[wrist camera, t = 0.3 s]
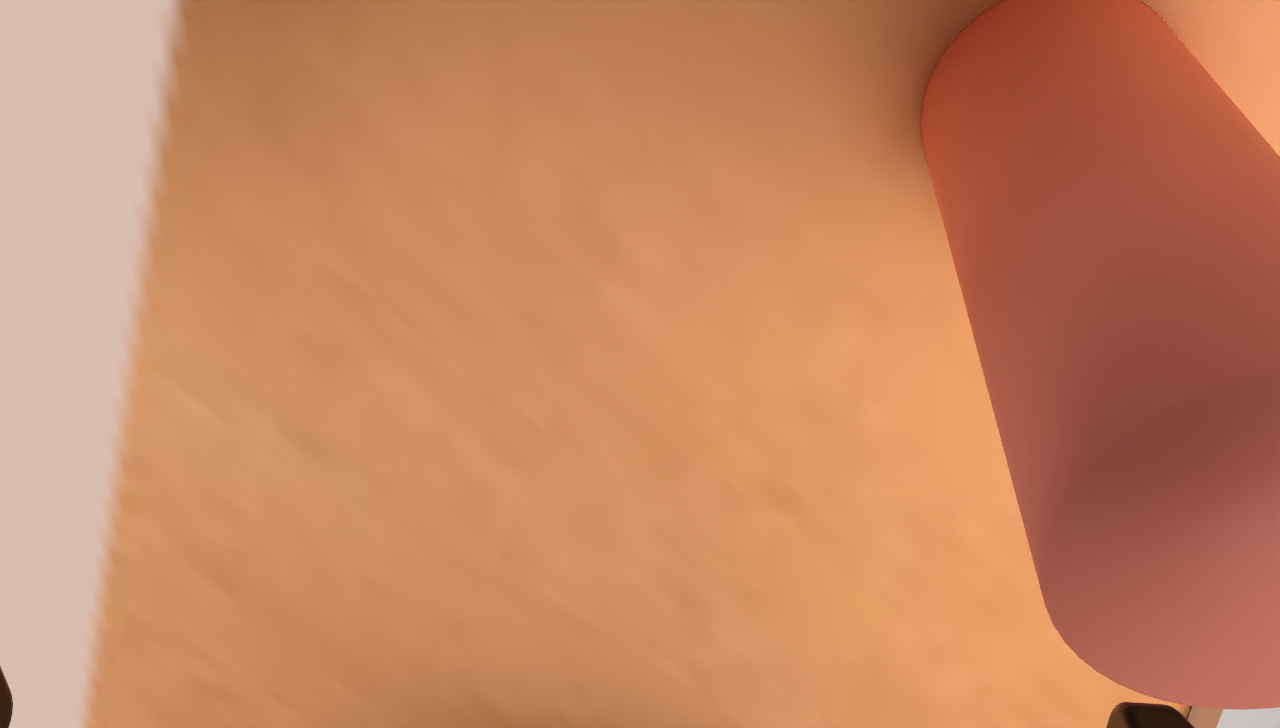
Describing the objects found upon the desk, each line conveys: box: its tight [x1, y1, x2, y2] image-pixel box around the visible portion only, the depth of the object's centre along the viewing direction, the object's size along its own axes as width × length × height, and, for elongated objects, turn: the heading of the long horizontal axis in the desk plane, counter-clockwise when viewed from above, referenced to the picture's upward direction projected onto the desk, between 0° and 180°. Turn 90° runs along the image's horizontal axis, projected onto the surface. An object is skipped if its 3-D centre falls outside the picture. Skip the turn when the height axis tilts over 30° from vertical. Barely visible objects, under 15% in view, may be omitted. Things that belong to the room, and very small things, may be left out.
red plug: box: [921, 0, 1280, 710], centre depth 16 cm, size 4×4×11 cm
